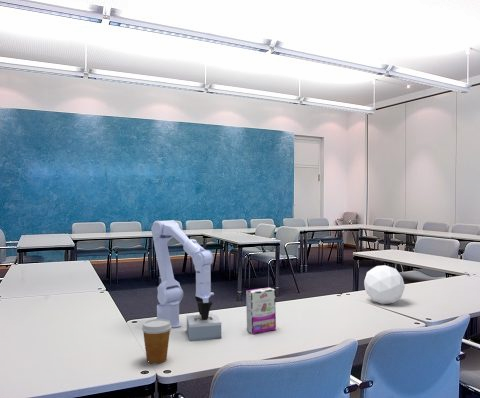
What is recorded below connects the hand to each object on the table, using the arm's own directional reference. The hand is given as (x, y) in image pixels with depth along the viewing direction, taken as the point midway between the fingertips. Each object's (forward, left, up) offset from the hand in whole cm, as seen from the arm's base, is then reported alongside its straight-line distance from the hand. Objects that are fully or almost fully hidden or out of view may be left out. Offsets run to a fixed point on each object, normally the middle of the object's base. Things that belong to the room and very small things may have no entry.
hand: (203, 317), depth 150 cm
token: (0, 0, -6) cm, 6 cm away
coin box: (0, 0, -7) cm, 7 cm away
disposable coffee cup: (-18, -21, -7) cm, 29 cm away
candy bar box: (+23, -1, -7) cm, 24 cm away
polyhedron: (+96, +26, -7) cm, 100 cm away
